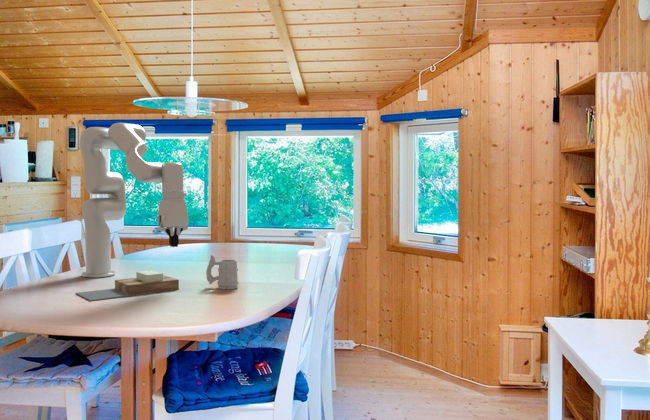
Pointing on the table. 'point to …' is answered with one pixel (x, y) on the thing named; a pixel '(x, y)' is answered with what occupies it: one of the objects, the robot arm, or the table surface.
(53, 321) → the table surface
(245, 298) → the table surface
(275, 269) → the table surface
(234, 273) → the mug
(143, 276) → the tile
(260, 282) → the table surface
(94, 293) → the mat
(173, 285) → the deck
